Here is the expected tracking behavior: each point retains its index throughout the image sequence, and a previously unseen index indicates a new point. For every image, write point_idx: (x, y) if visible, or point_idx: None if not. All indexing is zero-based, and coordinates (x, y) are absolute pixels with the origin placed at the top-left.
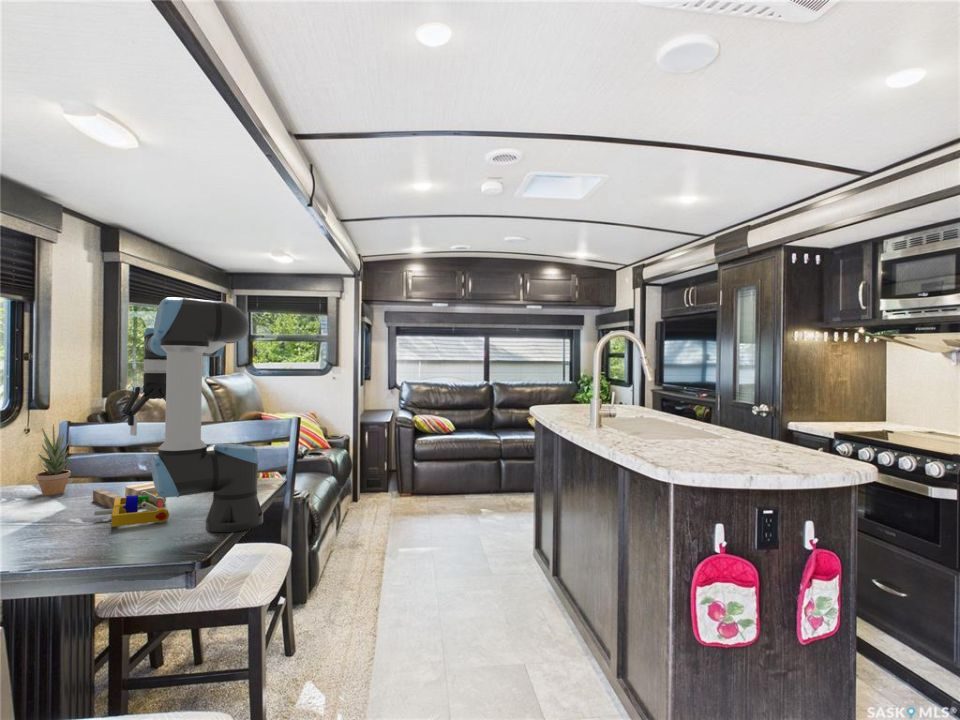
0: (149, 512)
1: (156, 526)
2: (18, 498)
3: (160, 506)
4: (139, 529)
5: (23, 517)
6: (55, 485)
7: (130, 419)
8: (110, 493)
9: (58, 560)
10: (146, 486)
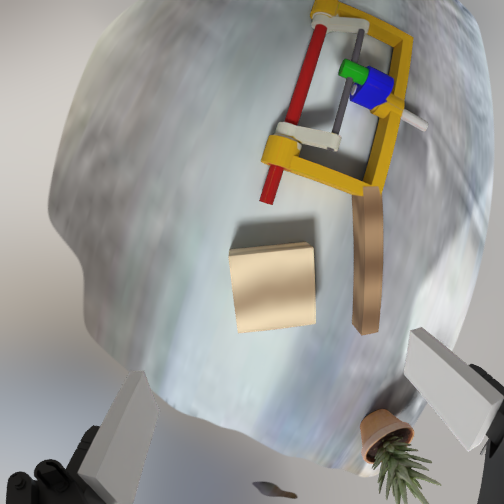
0: (353, 7)
1: None
2: (415, 408)
3: (314, 51)
4: None
5: (468, 265)
6: (388, 418)
7: (498, 386)
8: (369, 266)
9: (447, 5)
10: (275, 284)
